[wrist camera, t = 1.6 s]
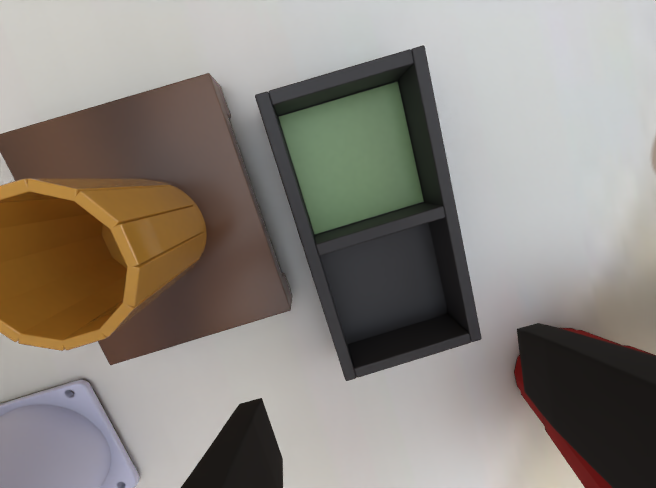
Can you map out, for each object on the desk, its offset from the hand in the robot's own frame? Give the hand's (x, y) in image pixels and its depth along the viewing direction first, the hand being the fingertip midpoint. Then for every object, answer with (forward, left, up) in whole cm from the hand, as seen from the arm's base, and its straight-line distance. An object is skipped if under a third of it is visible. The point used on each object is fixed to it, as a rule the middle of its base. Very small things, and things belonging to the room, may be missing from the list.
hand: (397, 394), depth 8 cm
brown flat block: (-8, +6, -10) cm, 14 cm away
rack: (+2, +3, -10) cm, 11 cm away
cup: (-8, +6, -8) cm, 13 cm away
